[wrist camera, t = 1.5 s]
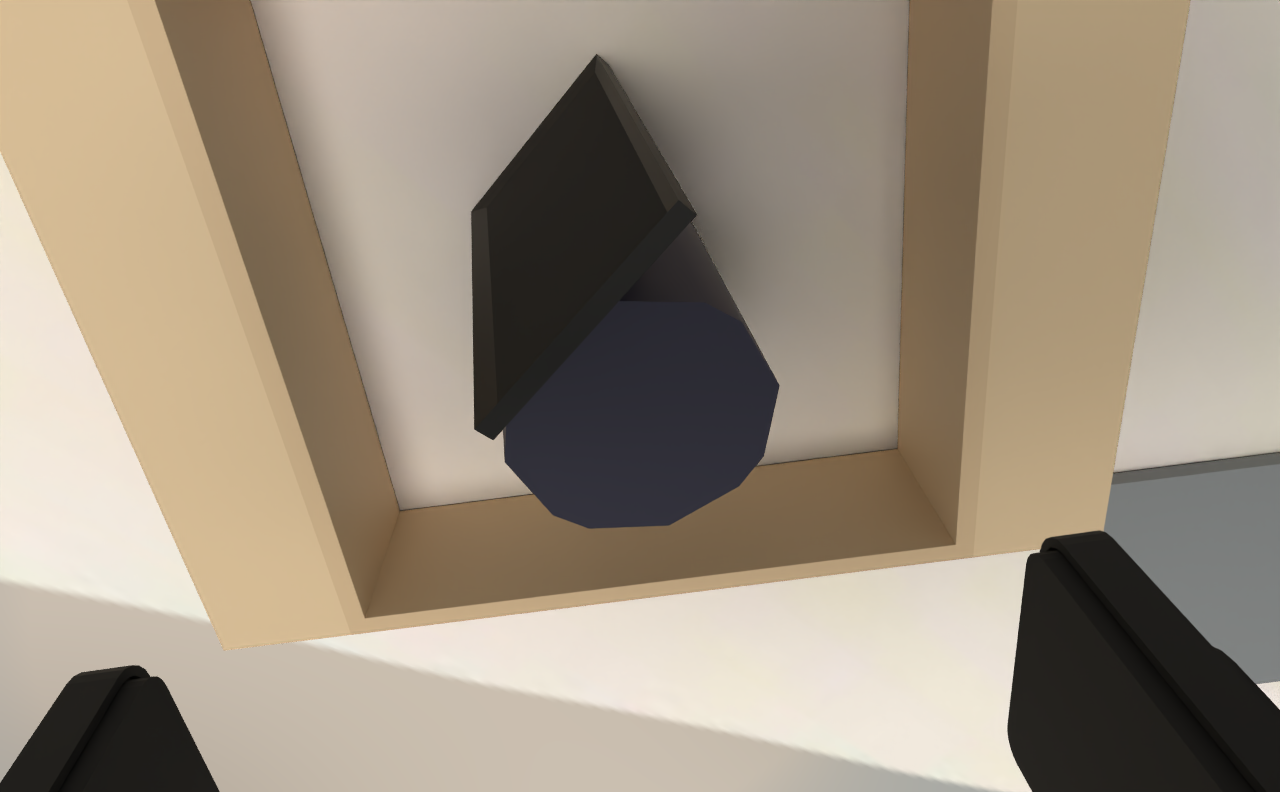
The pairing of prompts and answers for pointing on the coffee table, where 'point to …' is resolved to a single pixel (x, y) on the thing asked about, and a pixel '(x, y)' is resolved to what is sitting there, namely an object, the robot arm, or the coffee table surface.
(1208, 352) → the coffee table surface
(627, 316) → the speaker
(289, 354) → the carton
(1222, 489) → the mat
